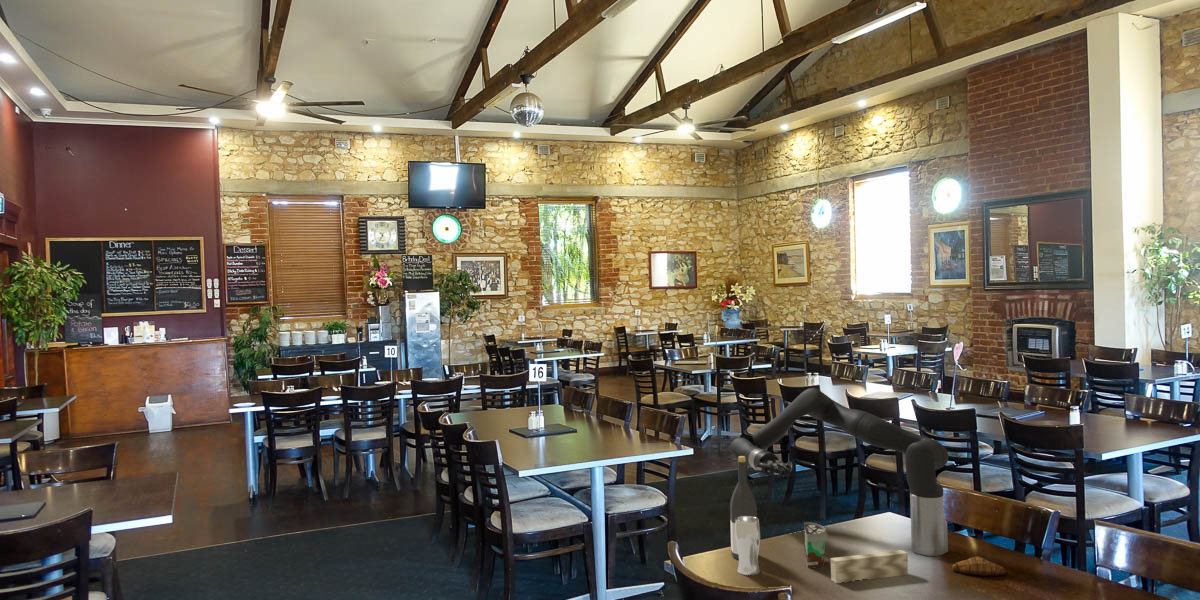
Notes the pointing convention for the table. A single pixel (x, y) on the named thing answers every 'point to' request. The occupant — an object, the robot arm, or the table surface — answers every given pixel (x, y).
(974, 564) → the croissant
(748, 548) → the beer glass
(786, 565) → the table surface
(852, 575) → the maple board
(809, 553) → the food container
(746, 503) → the wine bottle
